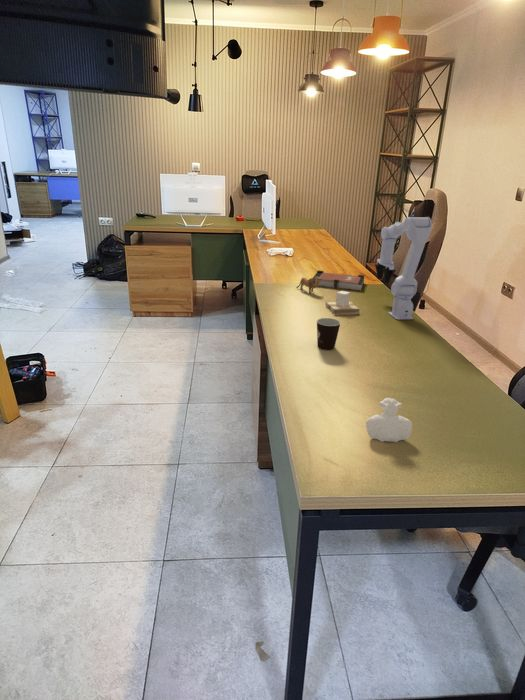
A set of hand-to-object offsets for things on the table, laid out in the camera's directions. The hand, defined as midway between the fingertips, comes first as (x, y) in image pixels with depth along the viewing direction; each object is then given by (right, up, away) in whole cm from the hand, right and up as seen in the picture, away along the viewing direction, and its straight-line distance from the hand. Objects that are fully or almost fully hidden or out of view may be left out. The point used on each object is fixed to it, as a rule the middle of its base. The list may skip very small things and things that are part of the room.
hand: (382, 280), depth 232 cm
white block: (-22, -13, -12) cm, 28 cm away
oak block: (-22, -16, -10) cm, 29 cm away
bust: (-26, -56, -106) cm, 123 cm away
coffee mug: (-34, -32, -51) cm, 69 cm away
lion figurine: (-35, -4, +15) cm, 38 cm away
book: (-17, +2, +31) cm, 36 cm away
